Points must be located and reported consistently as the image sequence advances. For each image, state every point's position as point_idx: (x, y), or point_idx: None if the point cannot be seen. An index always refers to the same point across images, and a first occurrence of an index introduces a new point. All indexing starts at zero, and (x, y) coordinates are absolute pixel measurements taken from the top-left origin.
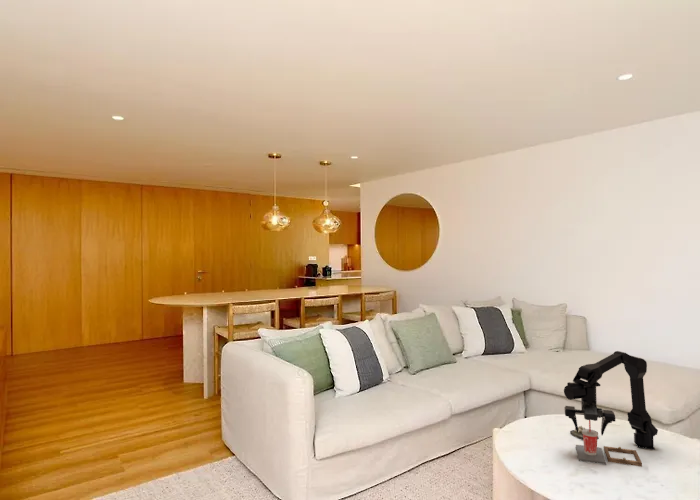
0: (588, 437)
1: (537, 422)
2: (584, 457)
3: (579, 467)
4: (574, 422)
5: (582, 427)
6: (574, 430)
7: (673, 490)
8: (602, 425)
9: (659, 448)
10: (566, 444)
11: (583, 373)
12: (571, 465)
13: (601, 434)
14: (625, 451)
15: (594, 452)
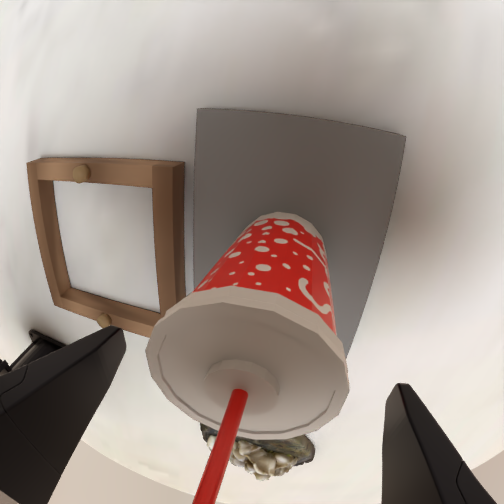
0: (290, 294)
1: None
2: (353, 161)
3: (413, 26)
4: (477, 495)
5: (255, 473)
6: (294, 463)
7: None
8: (31, 410)
9: (26, 337)
10: (387, 369)
11: None
12: (461, 55)
13: (118, 335)
14: (89, 301)
15: (255, 222)
